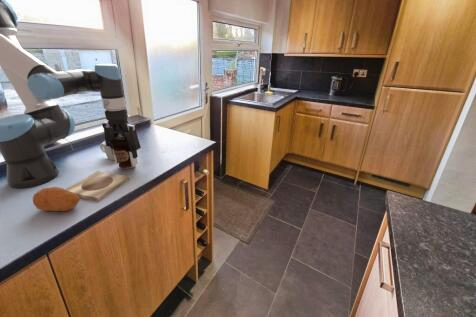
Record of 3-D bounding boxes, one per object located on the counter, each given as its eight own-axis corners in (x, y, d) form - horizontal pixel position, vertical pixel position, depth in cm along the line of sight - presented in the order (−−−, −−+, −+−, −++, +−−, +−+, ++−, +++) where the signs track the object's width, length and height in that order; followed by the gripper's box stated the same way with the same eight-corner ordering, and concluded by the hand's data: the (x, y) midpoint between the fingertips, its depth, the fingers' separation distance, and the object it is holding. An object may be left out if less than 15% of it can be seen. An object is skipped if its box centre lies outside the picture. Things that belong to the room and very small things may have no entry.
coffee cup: (129, 171, 93) (123, 141, 87) (111, 169, 94) (104, 139, 89) (142, 162, 100) (137, 133, 95) (125, 160, 102) (119, 132, 96)
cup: (96, 160, 105) (92, 143, 101) (109, 153, 112) (105, 137, 109) (117, 162, 103) (113, 145, 99) (129, 155, 110) (125, 139, 106)
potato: (52, 199, 77) (45, 181, 74) (87, 203, 75) (80, 184, 72) (31, 213, 71) (22, 193, 68) (68, 218, 69) (61, 198, 66)
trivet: (63, 193, 80) (62, 190, 80) (98, 173, 93) (97, 170, 93) (98, 200, 76) (97, 197, 76) (129, 178, 90) (129, 176, 89)
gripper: (85, 108, 86) (99, 164, 96) (131, 113, 81) (141, 171, 91) (101, 104, 93) (113, 156, 103) (144, 108, 88) (153, 163, 98)
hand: (126, 163), depth 97 cm, fingers closed on coffee cup, 7 cm apart
